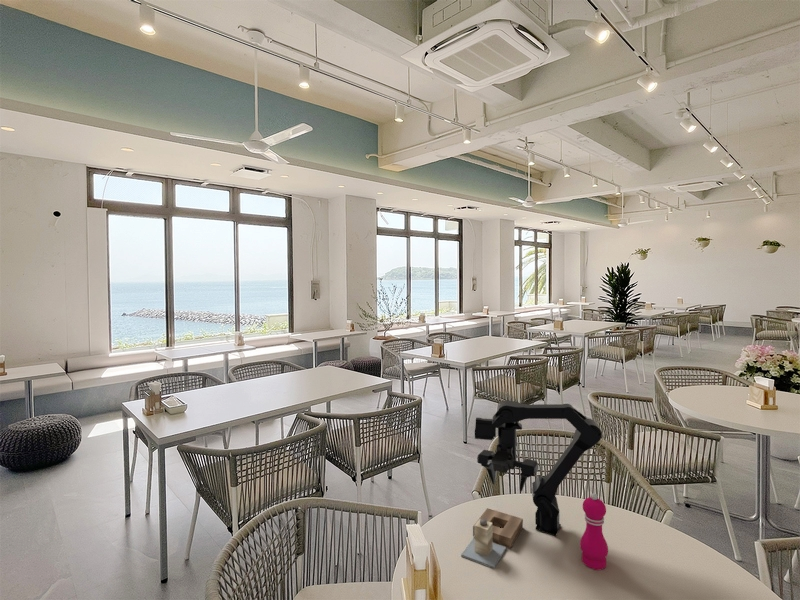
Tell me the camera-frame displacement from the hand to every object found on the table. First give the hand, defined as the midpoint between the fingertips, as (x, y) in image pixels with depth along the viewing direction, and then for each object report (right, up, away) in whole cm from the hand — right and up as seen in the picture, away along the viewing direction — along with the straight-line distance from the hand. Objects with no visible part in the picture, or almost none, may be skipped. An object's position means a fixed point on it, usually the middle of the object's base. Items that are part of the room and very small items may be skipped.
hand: (507, 487), depth 139 cm
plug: (-10, -13, -14) cm, 21 cm away
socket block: (-4, -12, -4) cm, 13 cm away
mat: (-10, -13, -14) cm, 22 cm away
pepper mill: (+20, -13, -19) cm, 30 cm away
